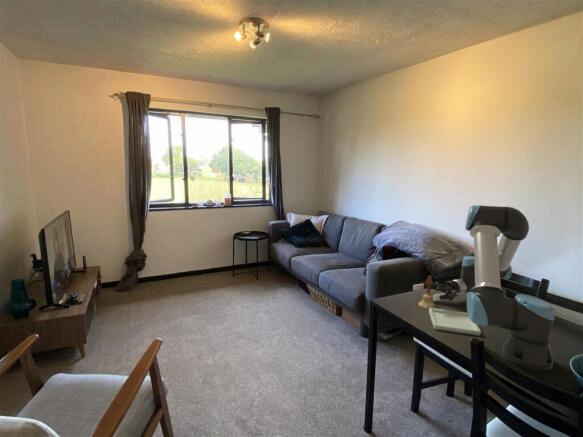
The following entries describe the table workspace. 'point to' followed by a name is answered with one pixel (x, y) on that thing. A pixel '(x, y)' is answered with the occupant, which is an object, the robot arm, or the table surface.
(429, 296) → the hand bell
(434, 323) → the tray
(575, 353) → the table surface
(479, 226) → the robot arm
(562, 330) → the table surface
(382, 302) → the table surface
